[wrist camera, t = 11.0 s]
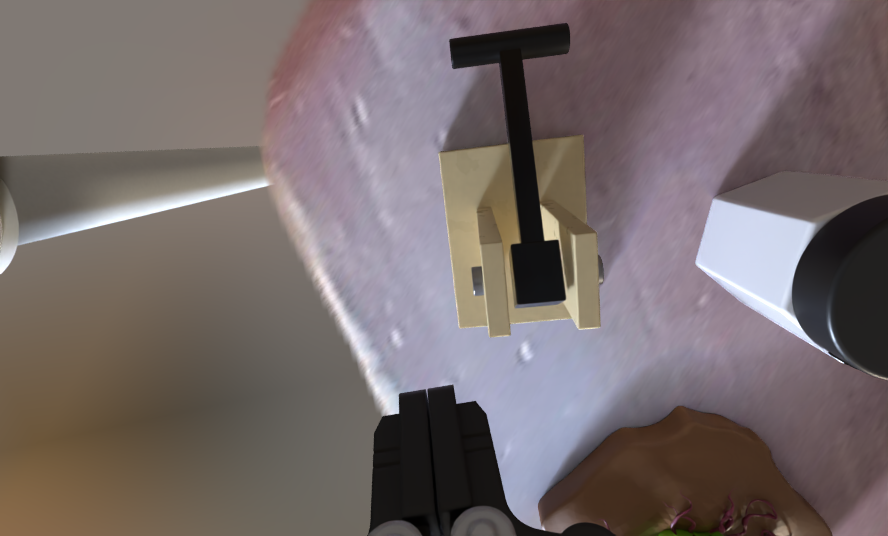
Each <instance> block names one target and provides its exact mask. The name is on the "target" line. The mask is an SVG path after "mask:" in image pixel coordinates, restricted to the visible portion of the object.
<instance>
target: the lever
mask: <svg viewBox="0 0 888 536" xmlns="http://www.w3.org/2000/svg"><path fill="white" fill-rule="evenodd" d="M449 42H450V52H451V61H452V68H453V69H457V68H464V67H472V66H479V65H487V64H494V63H499V67H500V76H501V85H502V94H503V102H504V111H505V120H506V129H507V138H508V146H509V155H510V164H511V173H512V181H513V190H514V199H515V208H516V216H517V225H518V234H519V243H517V244H511V246H510V251H509V263H510V272H511V281H512V290H513V299H514V307H515V308H527V307H538V306H549V305H558V304H560V303H562V302H563V301H565V300H566V291H565V283H564V275H563V267H562V260H561V252H560V244H559V240H557V239H556V240H547V241H545V239H544V231H543V223H542V215H541V207H540V199H539V191H538V183H537V174H536V166H535V158H534V150H533V142H532V134H531V126H530V118H529V109H528V101H527V93H526V85H525V77H524V69H523V61H522V60H524V59H532V58H539V57H547V56H554V55H562V54H567V53H568V52H569V48H570V30H569V25H568V23H562V24H554V25H547V26H540V27H533V28H525V29H518V30H511V31H504V32H497V33H489V34H482V35H475V36H468V37H460V38H453V39H450V40H449Z"/></svg>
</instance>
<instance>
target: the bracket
mask: <svg viewBox="0 0 888 536" xmlns="http://www.w3.org/2000/svg"><path fill="white" fill-rule="evenodd" d="M532 142H533V150H534V158H535V166H536V174H537V183H538V191H539V199H540V207H541V215H542V223H543V231H544V239H545V241H547V240H556V239H557V240H559V244H560V252H561V260H562V267H563V275H564V283H565V291H566V300H565V301H563V302H562V303H560V304H558V305H549V306H538V307H527V308H515V307H514V299H513V290H512V281H511V272H510V263H509V251H510V246H511V244H517V243H519V234H518V225H517V216H516V208H515V199H514V190H513V181H512V173H511V164H510V155H509V146H508V143H506V144H498V145H490V146H481V147H473V148H465V149H456V150H448V151H441V152H439V161H440V170H441V178H442V187H443V195H444V204H445V212H446V221H447V230H448V238H449V247H450V255H451V264H452V272H453V281H454V289H455V298H456V307H457V315H458V324H459V328H471V327H482V326H488V334H489V337H500V336H510V335H511V331H510V324H516V323H527V322H538V321H550V320H561V319H573V321H574V322H575V324H576V326H577V328H578V329H591V328H600V298H599V284H602V283H603V279H604V268H603V263H602V259H601V257H600V255H598V240H597V232H596V231H595V230H593V229H592V228H591V227H589V226H588V225H587V208H586V183H585V158H584V136H583V135H573V136H565V137H557V138H548V139H540V140H532Z"/></svg>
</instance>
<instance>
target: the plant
mask: <svg viewBox="0 0 888 536" xmlns="http://www.w3.org/2000/svg"><path fill="white" fill-rule="evenodd" d="M538 510H539V515H540V521H541V526H542V529H543V530H544V531H550V532H555V533H562V532H563V531H564V530H565V529H566V528H568V527H569V526H571V525H573V524H576V523H582V522H588V523H594V524H598V525H600V526H603V527H605V528H606V529H608V530H610V531H611V532H612V533H614V534H615V535H616V536H832V532H831V530H830V528H829V526H828V525H827V523H826V522H825V521H824V519H823V518H822V517H821V516H820V515H819V514H818V513H817V511H816V510H815V509H814V508H813V507H812V506H811V505H810V504H809V503H808V502H807V501H806V500H805V499H804V498H803V497H802V496H801V495H800V494H799V493H798V492H796V491H795V490H794V489H793V488H792V487H791V486H790V484H789V483H788V482H787V480H786V479H785V478H784V476H783V475H782V474H781V472H780V471H779V470H778V468H777V467H776V465H775V463H774V461H773V459H772V456H771V452H770V450H769V448H768V446H767V445H766V444H765V443H764V442H763V441H762V440H761V439H760V437H759V436H758V435H757V434H756V433H755V432H753V431H752V430H750V429H749V428H745V427H741V426H739V425H737V424H736V423H734V422H733V421H731V420H729V419H727V418H725V417H723V416H720V415H716V414H709V413H701V412H697V411H694V410H691V409H688V408H686V407H684V406H678V407H676V408H675V409H674V410H673V411H672V412H671V413H670V414H669V416H667V417H666V418H665V419H664V420H662V421H660V422H658V423H656V424H653V425H650V426H646V427H639V428H626V427H625V428H620V429H618V430H617V431H615V432H614V433H612V434H611V435H610V436H608V437H607V438H606V439H605V440H604V441H603V442H602V443H601V445H600V446H599V447H597V448H596V449H595V450H594V451H593V452H592V453H591V454H590V455H588V456H587V457H586V458H585V459H584V460H583V461H582V462H581V463H580V464H579V465H578V466H577V467H576V468H575V469H574V470H573V471H572V472H571V473H570V474H569V475H568V476H567V477H565V478H564V479H563V480H561V481H560V482H559V483H558V484H557V485H555V486H554V487H553V488H552V489H551V490H550V491H549V492H547V493H546V494H545V495H544V496H543V497H542V498H541V500H540V501H539V503H538Z"/></svg>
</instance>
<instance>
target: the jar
mask: <svg viewBox="0 0 888 536" xmlns="http://www.w3.org/2000/svg"><path fill="white" fill-rule="evenodd" d="M695 264H696V265H697V266H698V267H699V268H700V269H702V270H703V271H704V272H705V273H706V274H708V275H709V276H710V277H711V278H712V279H714V280H715V281H716V282H717V283H719V284H720V285H721V286H722V287H723V288H725V289H726V290H727V291H728V292H729V293H731V294H732V295H733V296H734V297H736V298H737V299H738V300H739V301H740V302H742V303H743V304H745V305H747V306H748V307H750V308H752V309H753V310H755V311H757V312H758V313H760V314H762V315H763V316H765V317H767V318H768V319H770V320H771V321H773V322H775V323H776V324H778V325H780V326H781V327H783V328H785V329H786V330H788V331H790V332H791V333H793V334H795V335H796V336H798V337H800V338H801V339H803V340H805V341H806V342H808V343H810V344H811V345H813V346H815V347H816V348H818V349H820V350H821V351H823V352H825V353H826V354H828V355H830V356H831V357H833V358H834V359H836V360H838V361H839V362H841V363H845V364H846V365H849V366H851V367H853V368H855V369H858V370H860V371H862V372H864V373H866V374H868V375H871V376H874V377H877V378H880V379H884V380H888V181H887V180H877V179H867V178H857V177H847V176H837V175H827V174H818V173H808V172H798V171H788V170H784V171H781V172H778V173H776V174H773V175H770V176H768V177H765V178H762V179H760V180H757V181H754V182H752V183H749V184H747V185H744V186H741V187H739V188H736V189H733V190H731V191H728V192H725V193H723V194H720V195H717V196H715V197H714V198H713V201H712V205H711V208H710V212H709V215H708V219H707V222H706V226H705V229H704V233H703V236H702V240H701V243H700V247H699V250H698V254H697V257H696V261H695Z"/></svg>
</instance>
